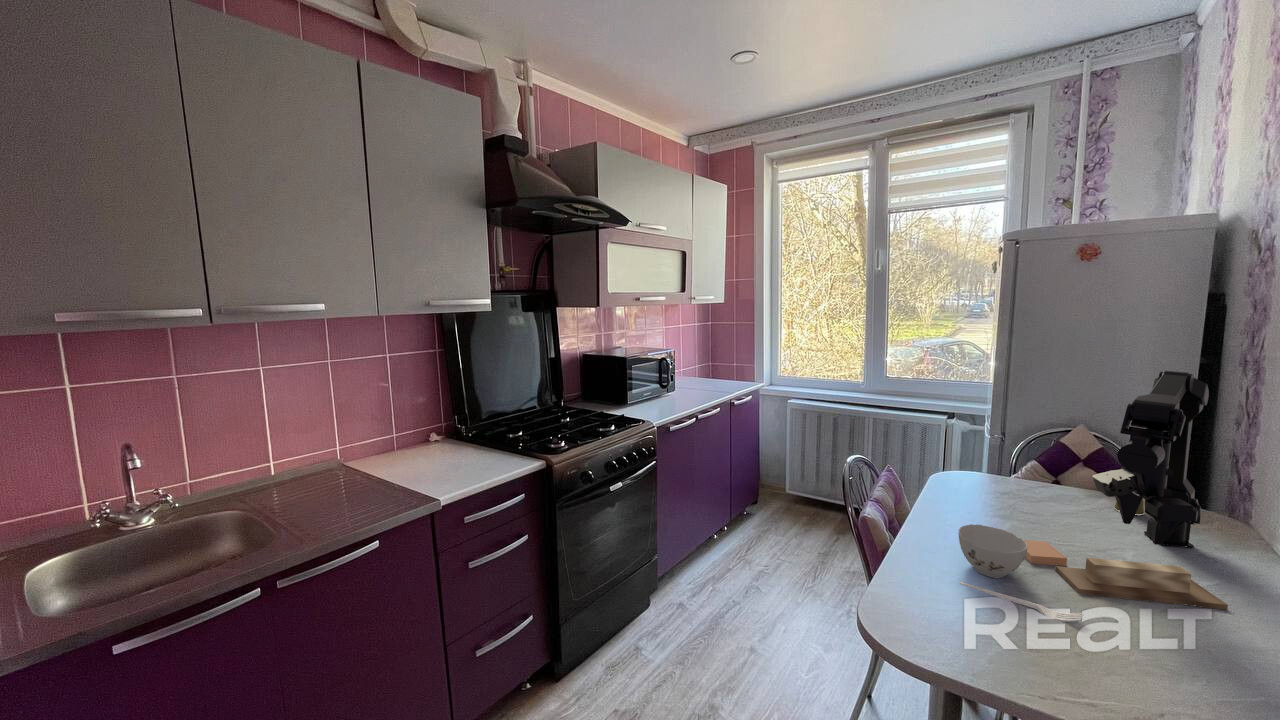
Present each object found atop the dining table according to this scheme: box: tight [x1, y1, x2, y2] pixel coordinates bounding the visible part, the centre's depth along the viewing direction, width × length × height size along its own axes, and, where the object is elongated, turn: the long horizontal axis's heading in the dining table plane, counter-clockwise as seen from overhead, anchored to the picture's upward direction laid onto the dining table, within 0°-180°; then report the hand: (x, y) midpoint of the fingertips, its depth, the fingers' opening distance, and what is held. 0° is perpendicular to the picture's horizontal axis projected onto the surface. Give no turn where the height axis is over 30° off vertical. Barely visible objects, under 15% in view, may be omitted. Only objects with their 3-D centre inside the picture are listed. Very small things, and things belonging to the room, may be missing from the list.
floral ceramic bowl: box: [958, 524, 1028, 579], centre depth 113 cm, size 15×12×8 cm
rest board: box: [1054, 565, 1229, 611], centre depth 105 cm, size 24×9×1 cm, turn 75°
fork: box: [959, 581, 1085, 623], centre depth 102 cm, size 3×20×2 cm, turn 44°
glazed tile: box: [1023, 539, 1068, 567], centre depth 119 cm, size 2×8×7 cm
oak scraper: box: [1084, 557, 1193, 593], centre depth 105 cm, size 16×3×4 cm, turn 75°
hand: (1141, 533), depth 107 cm, fingers open, 9 cm apart
